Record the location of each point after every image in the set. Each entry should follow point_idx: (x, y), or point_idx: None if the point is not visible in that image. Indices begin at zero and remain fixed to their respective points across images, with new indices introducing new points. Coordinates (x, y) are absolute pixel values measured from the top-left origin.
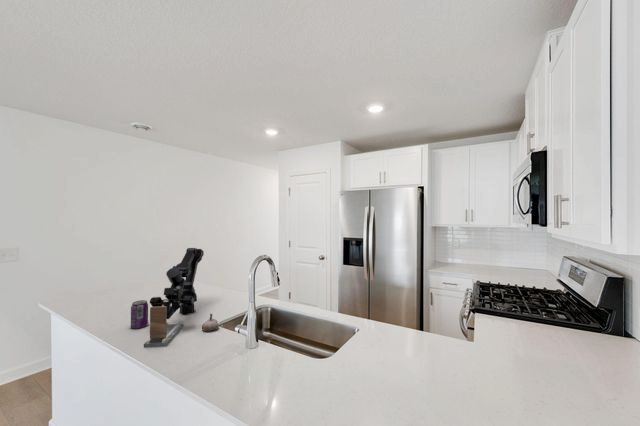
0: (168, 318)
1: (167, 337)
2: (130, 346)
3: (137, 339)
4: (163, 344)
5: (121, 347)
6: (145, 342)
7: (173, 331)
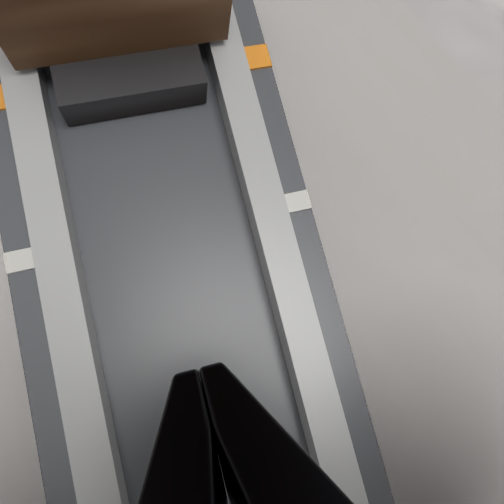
0: (177, 384)
1: (3, 77)
2: (400, 24)
3: (462, 178)
4: None
5: (471, 4)
6: (252, 4)
7: (47, 308)
